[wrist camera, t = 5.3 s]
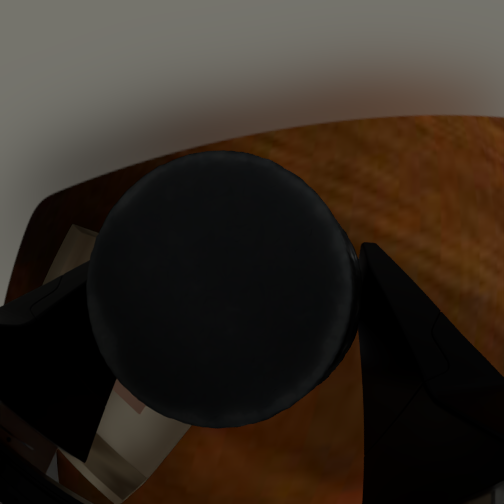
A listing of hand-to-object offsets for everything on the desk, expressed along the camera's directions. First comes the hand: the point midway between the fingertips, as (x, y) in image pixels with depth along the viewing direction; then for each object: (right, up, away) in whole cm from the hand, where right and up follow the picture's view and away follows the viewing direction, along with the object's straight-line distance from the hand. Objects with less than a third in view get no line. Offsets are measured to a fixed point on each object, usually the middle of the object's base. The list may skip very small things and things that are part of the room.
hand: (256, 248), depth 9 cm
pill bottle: (+1, -3, +6) cm, 7 cm away
